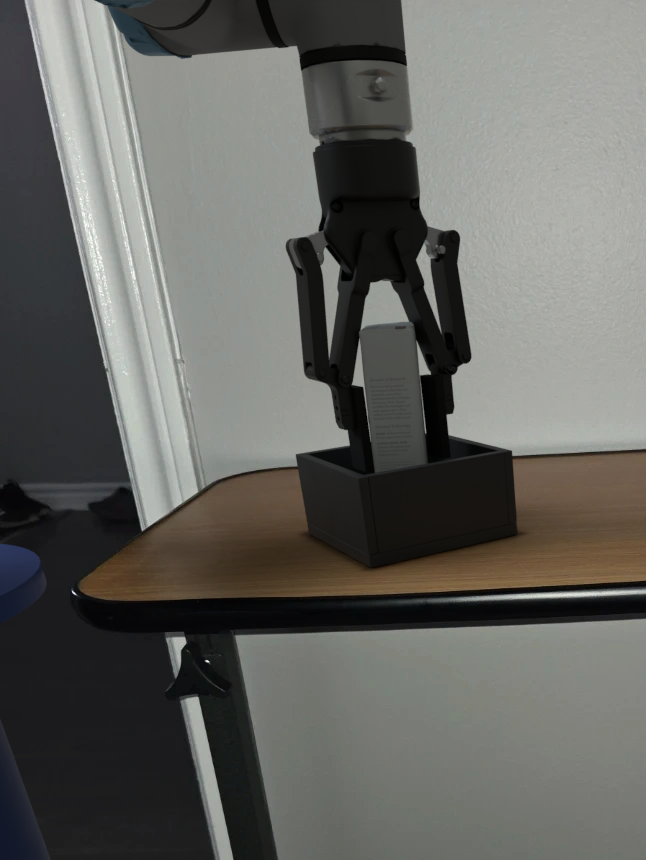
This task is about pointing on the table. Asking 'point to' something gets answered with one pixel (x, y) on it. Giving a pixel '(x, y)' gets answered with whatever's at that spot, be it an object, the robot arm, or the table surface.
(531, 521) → the table surface
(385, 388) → the cosmetic box
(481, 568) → the table surface
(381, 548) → the basket
